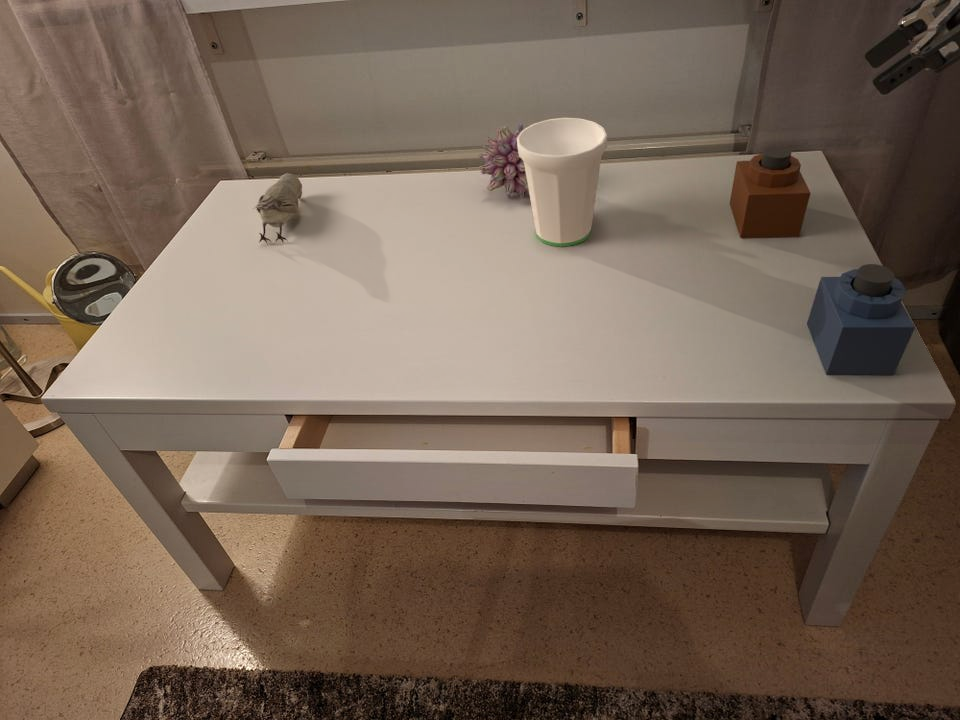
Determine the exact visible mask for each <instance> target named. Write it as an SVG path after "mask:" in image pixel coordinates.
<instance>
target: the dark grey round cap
mask: <svg viewBox="0 0 960 720" xmlns="http://www.w3.org/2000/svg"><path fill="white" fill-rule="evenodd" d="M857 269H858V271H857V274H856V277H855V280H854V283H853V289H854V290H855V291H856V292H858V293H860V294H862V295H865V296H869V297H884V296H885V295H887V293H888V291H889V289H890V286H891V284H892V281H893V279H894V277H895V273H894V272H893V271H892V269H890V268H889V267H886V266H884V265H881V264H877V263H867V264H864V265H860V266H859V268H857Z"/></svg>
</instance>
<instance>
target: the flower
mask: <svg viewBox="0 0 960 720" xmlns="http://www.w3.org/2000/svg"><path fill="white" fill-rule="evenodd" d="M524 129H525V128H524V124H523V122H521V123H519V124H518V127H517V129H516V130H515V131H514V132H512V131H511V130H510V129H509V127H508V125H504V126H503V127H499V128H497V129H496V131H497V133H498V134H497V139H492V138H490V137H489V136H487V137H486V139H485V141H486V142H487V143H488V144H486V143H484V144H482V148H483V149H484V150H486V152H485V153H478V155H477V156H478V158H480V159H483V160H484V161H485V162H484V163H483V164H482V165H479V170H480V174H482V175H490V179H489V184H488V186H487V190H488V191H490V192H493V191H494V190H496V189H500V188H502V187H504V190H505V195H506V196H505V197H506V198H507V199H510V198H511V195H512V194H513V192H514V191H516V193H517V194H518V195H519V198H520V199H523V198H525V195H527V196H529V195H530V194H529V189H528V183H527V177H526V172H525V166H524V161H523V160H522V159H521V158H520V157H519V153H518V147H517V137H518V136H519V134H520V133H521V132H522V130H524Z"/></svg>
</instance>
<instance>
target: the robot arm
mask: <svg viewBox="0 0 960 720" xmlns="http://www.w3.org/2000/svg"><path fill="white" fill-rule="evenodd" d="M901 16H902V18H901V19H900V20H898V22H897V26H896V27H894V28H893V29H892V30H890V31H889V32H888V33H887V34H885V35H884V36H882V37H881V38H880V39H879V40H877V41H876V42H875V43H873V44H872V45H870V46H869V47H868V48H866V49H865V51H864V52H863V56H864V59H865V60H866V61H867V63H868V64H869V65H870V66H871V68H873V69H878V68H880V67H881V66H883V65H884V64H885V63H887V62H888V61H889V60H891V59H892V58H893V57H895V56H896V55H897V54H899V53H900V52H902V51H903V50H904V49H906V48H907V47H909V46H911V43H914V42H916V41H918V40H919V41H918V42H917V43H916V44H915V45H914V46H913V47H912V48H911V49H910V51H909V50H907V51H906V52H904V53H903V54H901V55H900V56H899V57H897V58H896V59H895V60H893V61H892V62H890V63H889V64H887V65H886V66H885V67H883V68H882V69H880V70H879V71H878V72H877V73H875V74H874V75H873V76H872V78H871V83H872V84H873V86H874V87H875V88H876V90H877V91H878V92H879V93H880V94H881V95H882V96H885V95H888V94H890V93H891V92H892V91H895V89H897V88H898V87H900V86H902V85H903V84H904V83H905V82H907V81H908V80H911V79H912V78H914V77H915V76H916V75H917V74H919V73H920V72H921V71H925V72H927V71H930V70H932V71H933V72H934V73H935V74H939V73H941V72H943V71H944V70H946V69H948V68H950V67H951V66H952V65H954V64H955V63H957V62H958V61H960V0H915V1H913V2H912V3H910V4H909V5H908V6H907V7H906V8H904V10H903V11H902V12H901Z"/></svg>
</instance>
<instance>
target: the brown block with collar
mask: <svg viewBox="0 0 960 720" xmlns="http://www.w3.org/2000/svg"><path fill="white" fill-rule="evenodd" d="M762 156H763V152H762V153H760V154H756V155H753V157H752V158H751V159H750V160H738V161H737V160H736V164H735V169H734V175H733V181H732V187H731V191H730V199H729V205H730V208H731V212H732V215H733V219H734V222H735V225H736V229H737V231H738V235H739V238H740V239H760V238H761V239H763V238H764V239H765V238H769V239H770V238H799V237H800V235H801V231H802V227H803V225H804V224H803V223H804V220H805V216H806V212H807V209H808V205H809V201H810V196H811V190H810V189H809V187H808V185H807V182H806V180H805V178H804V177H803V174H802V172H801V167H802V165H801V163H800V160H799V159H798V157H797V158H796V157H794V156H793V155H791V157H790V162H789V166H788V168H787V169H784V170H770V169H765V168H763V167H762V166H761V161H762Z"/></svg>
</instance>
